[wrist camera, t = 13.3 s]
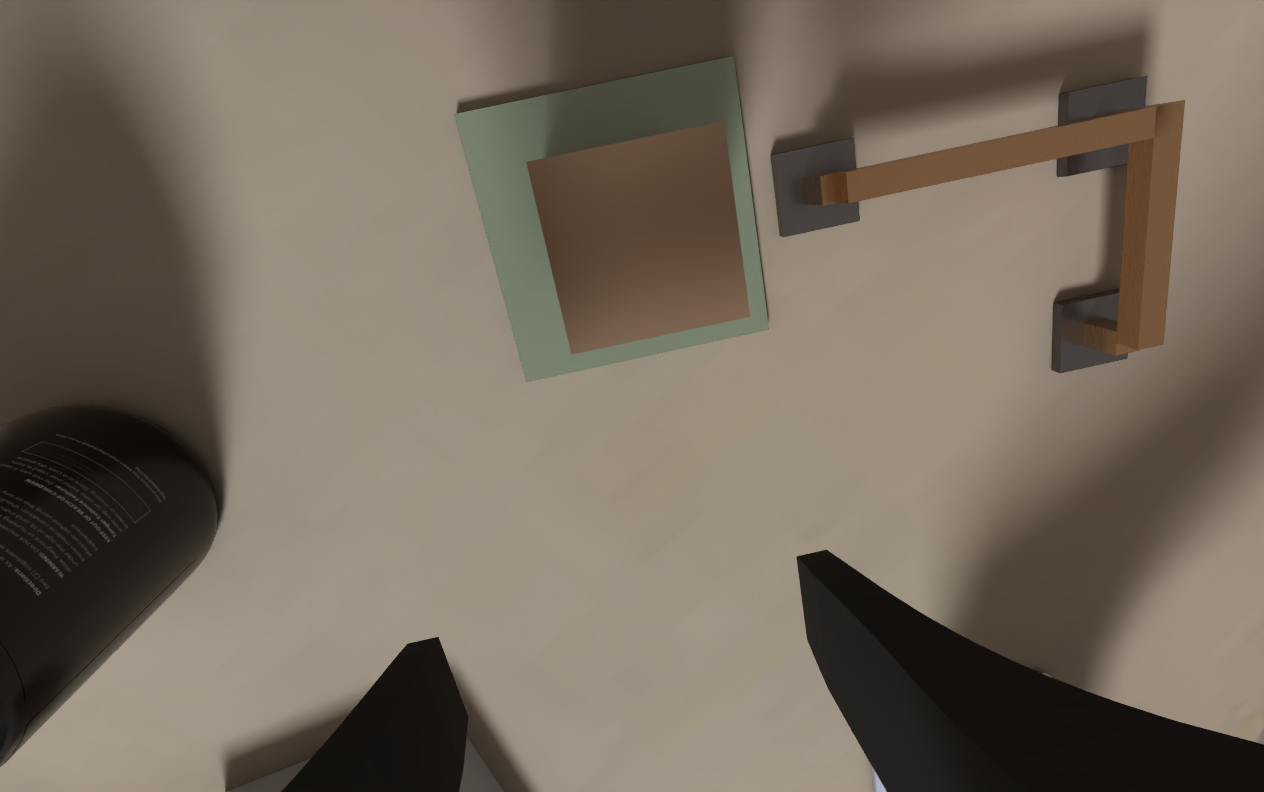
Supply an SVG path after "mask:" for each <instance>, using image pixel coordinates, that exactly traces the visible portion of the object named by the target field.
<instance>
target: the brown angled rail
mask: <svg viewBox="0 0 1264 792" xmlns="http://www.w3.org/2000/svg"><path fill="white" fill-rule="evenodd" d="M1146 84H1147V76H1143V77H1139V78H1134V79H1129V80H1124V81H1120V82H1115V83H1110V84H1106V85H1101V86H1096V87H1091V88H1087V89H1082V90H1077V91H1072V92H1068V93H1063V94H1059V124H1058V126H1054V127H1049V128H1044V129H1040V130H1035V131H1030V132H1026V133H1021V134H1016V135H1011V136H1007V137H1002V138H997V139H993V140H988V141H983V142H979V143H974V144H969V145H964V146H960V147H955V148H950V149H946V150H941V151H936V152H932V153H927V154H922V155H917V156H913V157H908V158H903V159H899V160H894V161H889V162H885V163H880V164H875V165H871V166H866V167H861V168H856V162H855V149H854V138H851V139H846V140H841V141H837V142H832V143H827V144H822V145H818V146H813V147H808V148H803V149H799V150H794V151H789V152H785V153H780V154H775V155H771V164H772V173H773V181H774V190H775V198H776V207H777V215H778V224H779V233H780V236H782V237H786V236H791V235H796V234H800V233H805V232H810V231H814V230H819V229H824V228H828V227H833V226H838V225H842V224H847V223H852V222H856V221H860V216H859V203H858V201H861V200H866V199H870V198H875V197H880V196H884V195H889V194H894V193H898V192H903V191H908V190H912V189H917V188H922V187H926V186H931V185H936V184H940V183H945V182H950V181H954V180H959V179H964V178H968V177H973V176H978V175H982V174H987V173H992V172H997V171H1001V170H1006V169H1011V168H1015V167H1020V166H1025V165H1029V164H1034V163H1039V162H1043V161H1048V160H1053V159H1057V158H1058V160H1057V177H1064V176H1071V175H1076V174H1080V173H1085V172H1090V171H1094V170H1099V169H1104V168H1108V167H1113V166H1118V165H1122V164H1127V163H1128V165H1127V181H1126V196H1125V212H1124V228H1123V244H1122V260H1121V276H1120V289H1117V290H1112V291H1107V292H1103V293H1098V294H1094V295H1089V296H1085V297H1080V298H1075V299H1071V300H1066V301H1062V302H1057V303H1054V306H1053V342H1052V370H1053V371H1056V372H1058V373H1064V372H1068V371H1073V370H1077V369H1082V368H1086V367H1091V366H1095V365H1100V364H1104V363H1109V362H1113V361H1118V360H1123V359H1127V357H1128V353H1130V352H1135V351H1139V350H1140V349H1144V348H1149V347H1154V346H1158V345H1163V342H1164V330H1165V319H1166V308H1167V297H1168V285H1169V274H1170V263H1171V252H1172V240H1173V229H1174V218H1175V207H1176V195H1177V184H1178V173H1179V162H1180V150H1181V139H1182V128H1183V117H1184V105H1185V100H1183V101H1176V102H1170V103H1163V104H1157V105H1150V106H1145V98H1146Z"/></svg>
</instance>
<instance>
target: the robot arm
mask: <svg viewBox="0 0 1264 792" xmlns="http://www.w3.org/2000/svg"><path fill="white" fill-rule="evenodd" d="M797 564H798V572H799V579H800V587H801V595H802V603H803V610H804V618H805V626H806V633H807V640H808V642H809V645H810V647H811V650H812V652H813V655H814V657H815V659H816V662H817V664H818V666H819V669H820V671H821V673H822V676H823V678H824V680H825V683H826V685H827V687H828V689H829V691H830V693H831V694H832V696H833V698H834V700H835V702H836V703H837V705H838V707H839V709H840V711H841V712H842V714H843V716H844V718H845V719H846V721H847V723H848V725H849V727H850V728H851V730H852V732H853V734H854V735H855V737H856V739H857V741H858V742H859V744H860V746H861V748H862V749H863V751H864V753H865V755H866V756H867V758H868V760H869V762H870V763H871V767H872V778H873V788H874V792H1264V745H1263V744H1260V743H1256V742H1252V741H1248V740H1245V739H1241V738H1237V737H1233V736H1230V735H1226V734H1222V733H1218V732H1215V731H1211V730H1207V729H1204V728H1200V727H1196V726H1192V725H1189V724H1185V723H1181V722H1178V721H1174V720H1171V719H1168V718H1164V717H1161V716H1158V715H1155V714H1152V713H1149V712H1146V711H1143V710H1140V709H1137V708H1133V707H1130V706H1127V705H1124V704H1121V703H1118V702H1115V701H1112V700H1110V699H1107V698H1104V697H1101V696H1098V695H1096V694H1093V693H1090V692H1087V691H1084V690H1082V689H1079V688H1077V687H1074V686H1072V685H1069V684H1067V683H1064V682H1062V681H1059V680H1057V679H1054V678H1052V676H1051V675H1050V674H1047V673H1039V672H1037V671H1034V670H1032V669H1030V668H1028V667H1025V666H1023V665H1021V664H1018V663H1016V662H1014V661H1012V660H1010V659H1008V658H1006V657H1003V656H1001V655H999V654H997V653H995V652H993V651H991V650H989V649H987V648H985V647H982V646H980V645H978V644H976V643H974V642H972V641H971V640H969V639H967V638H965V637H963V636H961V635H959V634H957V633H955V632H954V631H952V630H950V629H948V628H947V627H945V626H943V625H941V624H939V623H938V622H936V621H934V620H932V619H931V618H929V617H927V616H925V615H924V614H922V613H920V612H919V611H917V610H916V609H914V608H912V607H911V606H909V605H908V604H906V603H905V602H903V601H901V600H900V599H898V598H897V597H895V596H893V595H892V594H890V593H889V592H887V591H886V590H884V589H883V588H881V587H880V586H878V585H877V584H875V583H874V582H872V581H871V580H870V579H868V578H867V577H865V576H864V575H862V574H861V573H859V572H858V571H857V570H855V569H854V568H852V567H851V566H849V565H848V564H847V563H845V562H844V561H842V560H841V559H839V558H838V557H836V556H835V555H833V554H832V553H830V552H829V551H828V550H824V551H819V552H815V553H810V554H806V555H801V556H797ZM467 724H468V715H467V712H466V710H465V707H464V704H463V702H462V699H461V696H460V694H459V691H458V688H457V685H456V683H455V680H454V677H453V675H452V672H451V669H450V667H449V664H448V661H447V659H446V656H445V653H444V651H443V648H442V645H441V643H440V640H439V637H436V638H431V639H427V640H422V641H418V642H413V643H409V644H407V645H406V646H405V648H404V649H403V650H402V651H401V652H400V653H399V654H398V656H397V657H396V658H395V659H394V660H393V662H392V663H391V664H390V665H389V666H388V668H387V669H386V670H385V671H384V673H383V674H382V675H381V676H380V678H379V679H378V680H377V681H376V682H375V684H374V685H373V686H372V687H371V689H370V690H369V691H368V692H367V694H366V695H365V696H364V697H363V698H362V700H361V701H360V702H359V703H358V704H357V706H356V707H355V708H354V709H353V710H352V712H351V713H350V714H349V715H348V717H347V718H346V719H345V720H344V721H343V723H342V724H341V725H340V726H339V727H338V729H337V730H336V731H335V732H334V733H333V734H332V736H331V737H330V738H329V739H328V740H327V741H326V742H325V743H324V744H323V746H322V747H321V748H320V749H319V750H318V751H317V752H316V753H315V755H314V756H313V757H312V758H311V759H310V760H309V761H308V762H307V764H306V765H305V766H304V767H303V768H302V769H301V770H300V771H299V772H298V774H297V775H296V776H295V777H294V778H293V779H292V780H291V781H290V782H289V784H288V785H287V786H286V787H285V788H284V789H283V790H282V791H281V792H459V789H460V785H461V780H462V775H463V768H464V759H465V749H466V737H467Z"/></svg>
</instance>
